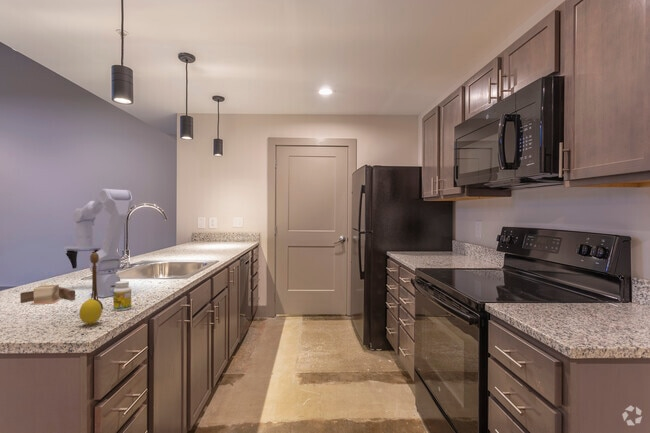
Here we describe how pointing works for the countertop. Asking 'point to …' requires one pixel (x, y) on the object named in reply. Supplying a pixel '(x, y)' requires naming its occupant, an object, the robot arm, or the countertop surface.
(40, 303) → the pad
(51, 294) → the maple cube
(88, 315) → the lemon
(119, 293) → the supplement bottle
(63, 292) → the brown wooden l-shaped block
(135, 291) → the countertop surface
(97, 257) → the wooden tabletop sculpture
